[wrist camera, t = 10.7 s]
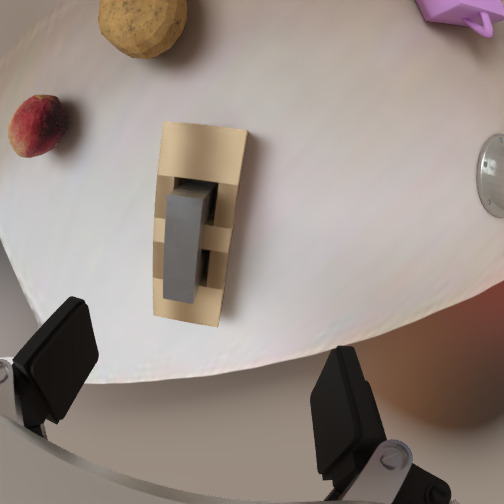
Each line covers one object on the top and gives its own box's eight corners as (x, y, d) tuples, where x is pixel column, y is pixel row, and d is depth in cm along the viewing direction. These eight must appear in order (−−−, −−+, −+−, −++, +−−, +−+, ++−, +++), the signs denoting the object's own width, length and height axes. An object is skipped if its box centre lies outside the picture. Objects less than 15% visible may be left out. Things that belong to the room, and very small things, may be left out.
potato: (130, 84, 25) (94, 72, 18) (110, 1, 20) (80, -21, 13) (210, 51, 24) (195, 25, 17) (181, -30, 19) (164, -63, 12)
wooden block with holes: (248, 131, 28) (246, 130, 24) (221, 308, 36) (218, 327, 32) (175, 123, 27) (163, 121, 24) (162, 298, 36) (153, 315, 32)
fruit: (39, 101, 25) (0, 101, 18) (80, 89, 25) (40, 84, 18) (39, 155, 28) (-1, 165, 21) (79, 148, 28) (38, 156, 21)
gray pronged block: (189, 179, 29) (167, 194, 22) (216, 183, 29) (203, 199, 22) (182, 263, 33) (162, 298, 26) (206, 267, 33) (193, 304, 26)
